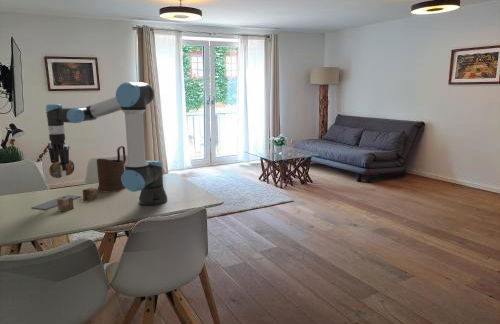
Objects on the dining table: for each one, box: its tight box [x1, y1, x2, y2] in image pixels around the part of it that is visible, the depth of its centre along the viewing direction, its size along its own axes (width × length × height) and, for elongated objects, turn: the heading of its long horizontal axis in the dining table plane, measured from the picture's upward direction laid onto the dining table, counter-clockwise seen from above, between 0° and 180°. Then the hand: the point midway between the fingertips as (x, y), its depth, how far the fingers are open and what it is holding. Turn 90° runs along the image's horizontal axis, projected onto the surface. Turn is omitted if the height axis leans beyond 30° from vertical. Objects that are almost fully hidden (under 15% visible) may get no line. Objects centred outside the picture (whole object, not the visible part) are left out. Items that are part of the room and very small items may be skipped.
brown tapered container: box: [96, 145, 127, 193], centre depth 231 cm, size 18×24×25 cm
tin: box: [49, 159, 75, 179], centre depth 198 cm, size 15×3×8 cm, turn 161°
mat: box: [31, 194, 82, 211], centre depth 202 cm, size 10×24×1 cm, turn 161°
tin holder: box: [56, 187, 98, 212], centre depth 198 cm, size 6×23×6 cm, turn 161°
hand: (61, 176), depth 198 cm, fingers closed on tin, 3 cm apart
